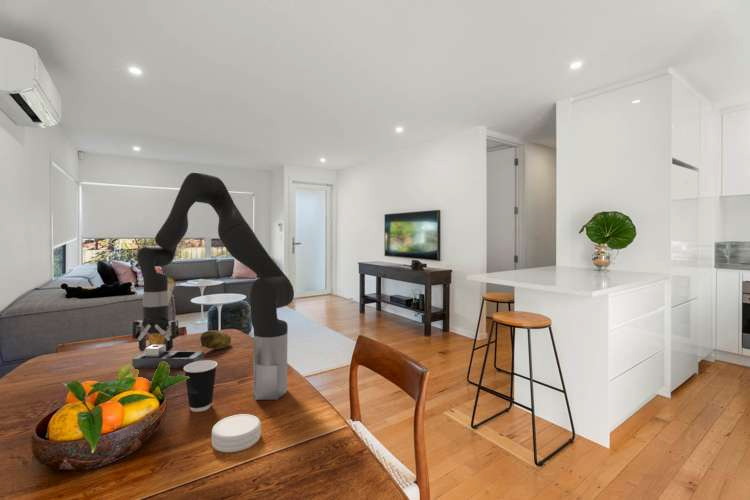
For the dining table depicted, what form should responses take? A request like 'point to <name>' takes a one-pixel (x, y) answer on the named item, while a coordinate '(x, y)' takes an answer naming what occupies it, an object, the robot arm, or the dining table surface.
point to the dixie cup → (200, 384)
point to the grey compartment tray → (169, 359)
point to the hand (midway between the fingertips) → (156, 350)
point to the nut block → (155, 351)
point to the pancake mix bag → (158, 338)
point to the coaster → (236, 433)
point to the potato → (215, 339)
